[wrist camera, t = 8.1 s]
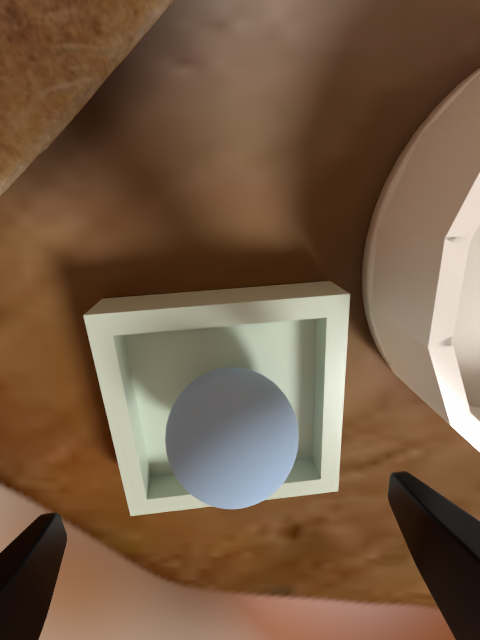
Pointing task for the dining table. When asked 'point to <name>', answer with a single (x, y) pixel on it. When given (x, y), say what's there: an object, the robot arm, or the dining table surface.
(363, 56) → the dining table surface
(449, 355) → the bowl
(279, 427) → the ball
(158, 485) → the tray
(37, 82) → the tan boot vase
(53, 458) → the dining table surface
